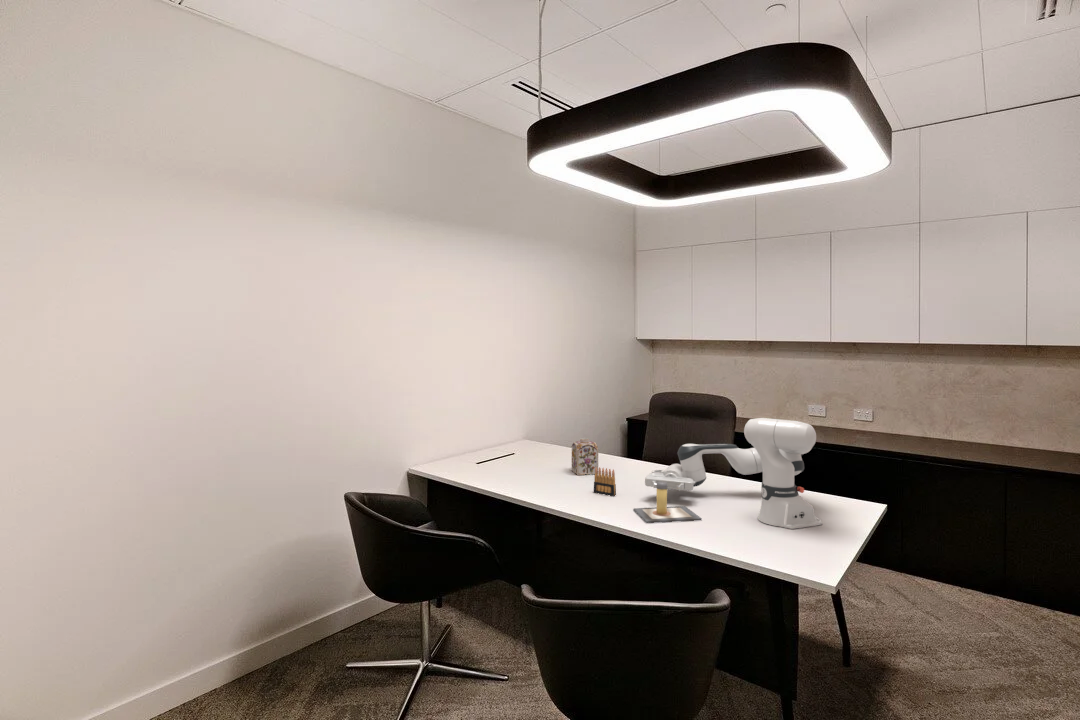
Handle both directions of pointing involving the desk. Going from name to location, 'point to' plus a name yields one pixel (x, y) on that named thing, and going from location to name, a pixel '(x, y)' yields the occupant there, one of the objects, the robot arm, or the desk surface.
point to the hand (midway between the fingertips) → (666, 487)
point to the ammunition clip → (604, 482)
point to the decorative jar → (584, 457)
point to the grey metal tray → (672, 514)
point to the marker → (661, 498)
